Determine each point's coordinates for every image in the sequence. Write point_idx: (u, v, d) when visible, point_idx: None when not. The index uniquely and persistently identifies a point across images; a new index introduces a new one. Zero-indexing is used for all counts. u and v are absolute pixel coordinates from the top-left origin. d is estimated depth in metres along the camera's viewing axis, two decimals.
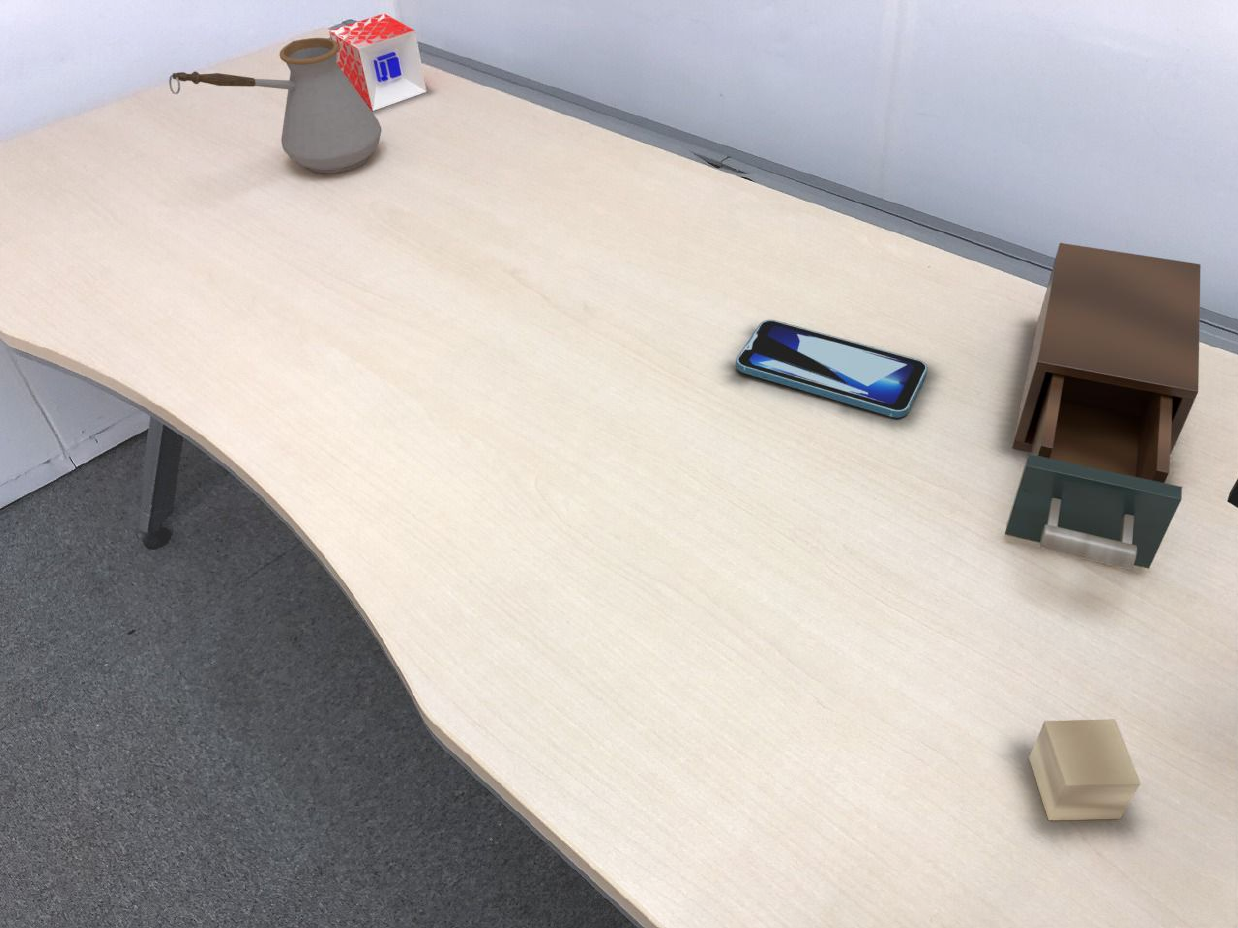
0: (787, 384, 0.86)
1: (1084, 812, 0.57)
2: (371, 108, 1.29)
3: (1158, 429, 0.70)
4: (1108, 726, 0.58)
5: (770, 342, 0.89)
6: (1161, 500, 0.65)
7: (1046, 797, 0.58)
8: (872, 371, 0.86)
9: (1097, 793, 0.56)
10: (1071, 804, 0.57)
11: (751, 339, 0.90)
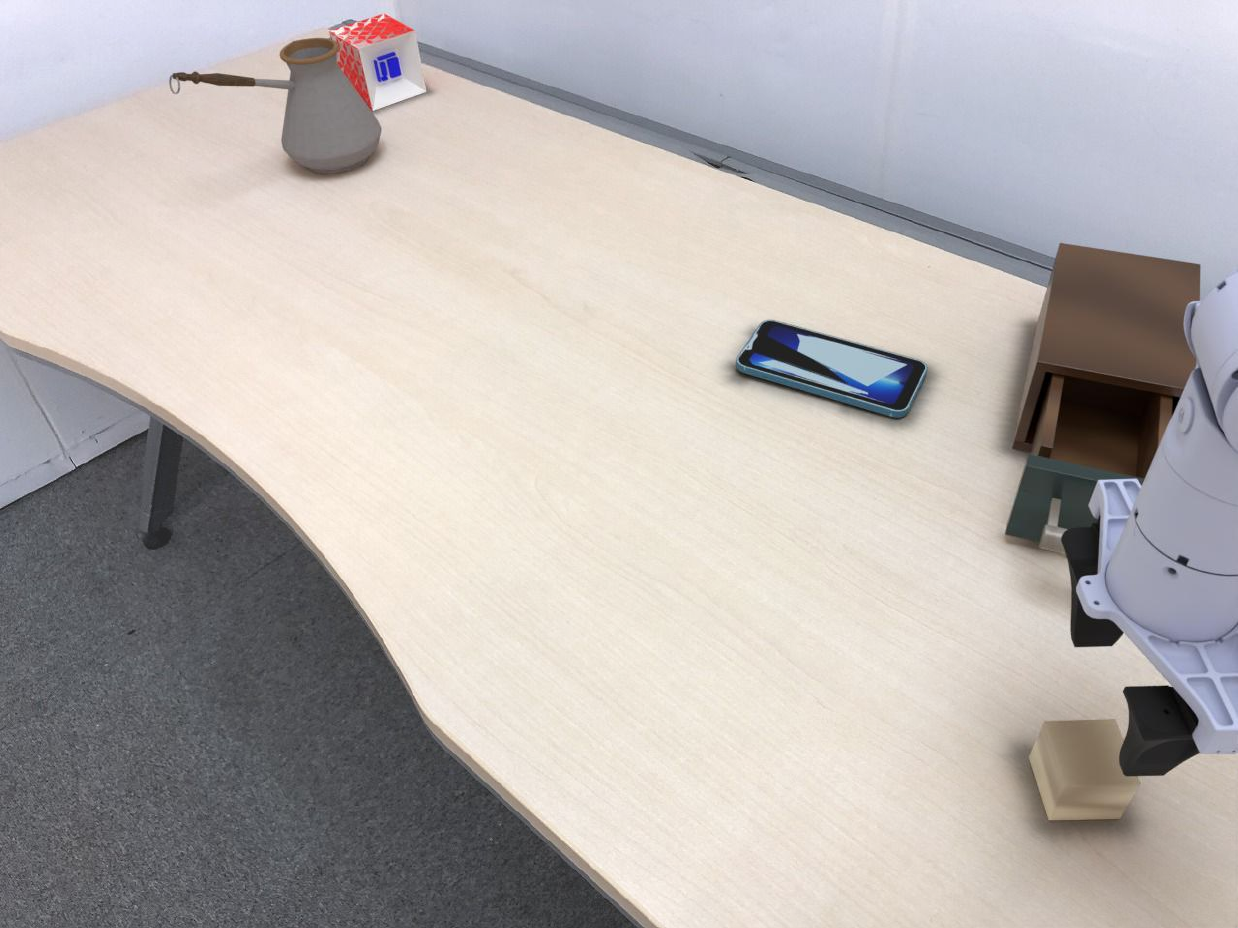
0: (787, 384, 0.86)
1: (1084, 812, 0.57)
2: (371, 108, 1.29)
3: (1158, 429, 0.70)
4: (1108, 726, 0.58)
5: (770, 342, 0.89)
6: None
7: (1046, 797, 0.58)
8: (872, 371, 0.86)
9: (1097, 793, 0.56)
10: (1071, 804, 0.57)
11: (751, 339, 0.90)
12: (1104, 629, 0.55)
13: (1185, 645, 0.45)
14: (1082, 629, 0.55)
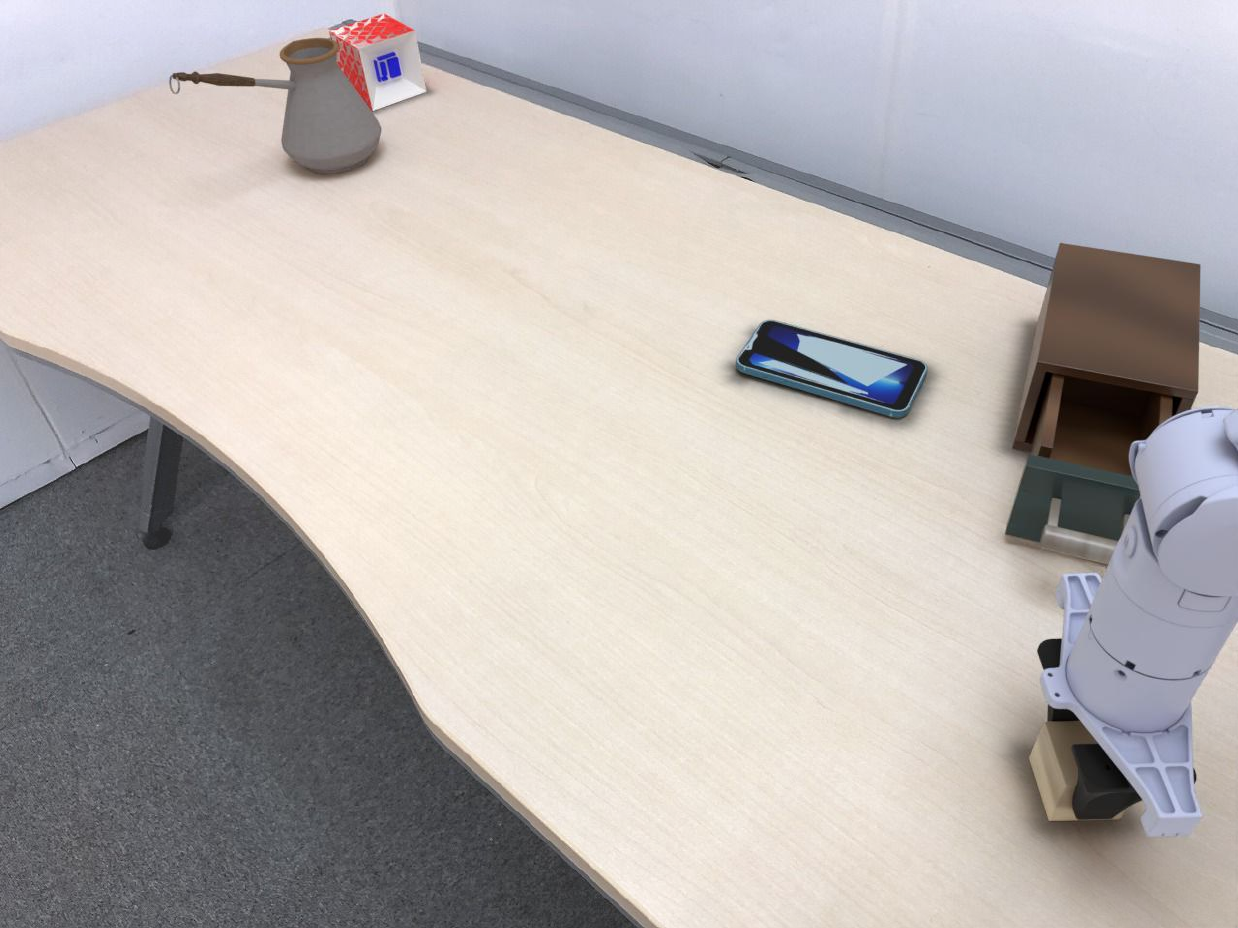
0: (787, 384, 0.86)
1: None
2: (371, 108, 1.29)
3: None
4: None
5: (770, 342, 0.89)
6: None
7: (1047, 797, 0.58)
8: (872, 371, 0.86)
9: None
10: (1071, 805, 0.57)
11: (751, 339, 0.90)
12: None
13: (1135, 736, 0.50)
14: None
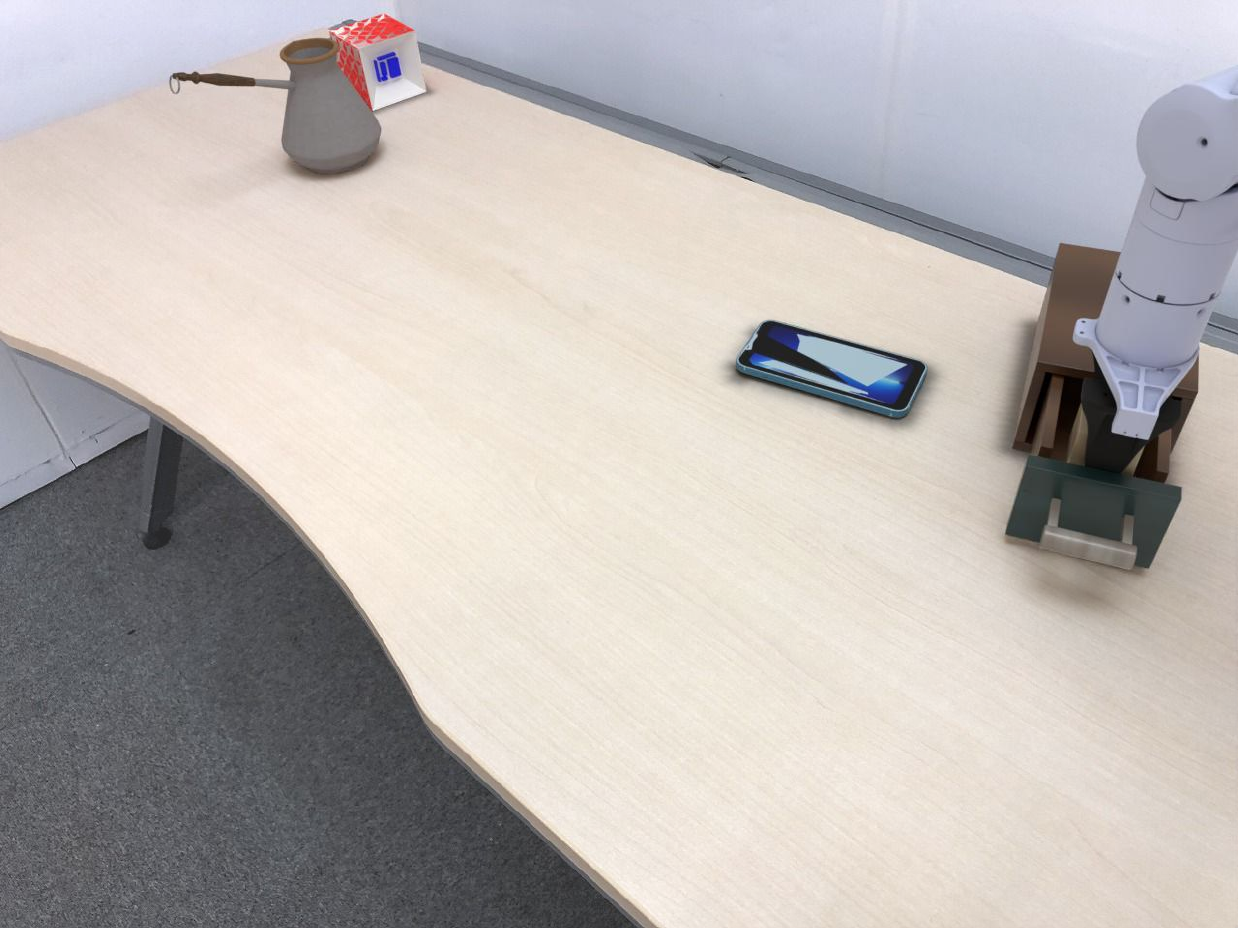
0: (787, 384, 0.86)
1: None
2: (371, 108, 1.29)
3: None
4: None
5: (770, 342, 0.89)
6: (1161, 500, 0.65)
7: (1068, 457, 0.69)
8: (872, 371, 0.86)
9: None
10: (1083, 458, 0.68)
11: (751, 339, 0.90)
12: None
13: (1132, 366, 0.61)
14: None
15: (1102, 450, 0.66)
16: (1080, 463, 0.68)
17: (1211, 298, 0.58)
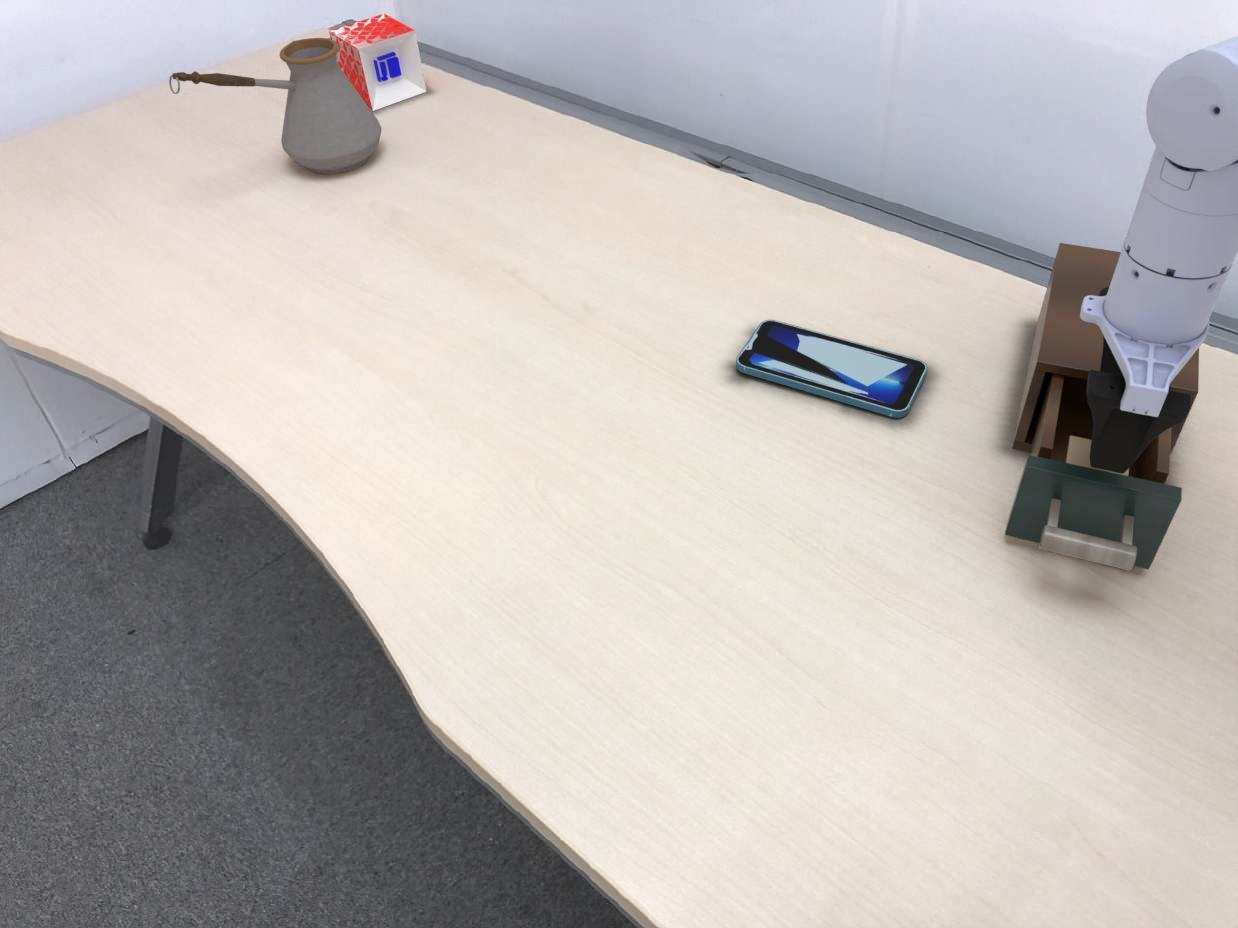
0: (787, 384, 0.86)
1: None
2: (371, 108, 1.29)
3: None
4: None
5: (770, 342, 0.89)
6: (1161, 501, 0.65)
7: None
8: (872, 371, 0.86)
9: None
10: None
11: (751, 339, 0.90)
12: None
13: (1141, 343, 0.60)
14: None
15: (1108, 445, 0.64)
16: None
17: (1222, 272, 0.57)
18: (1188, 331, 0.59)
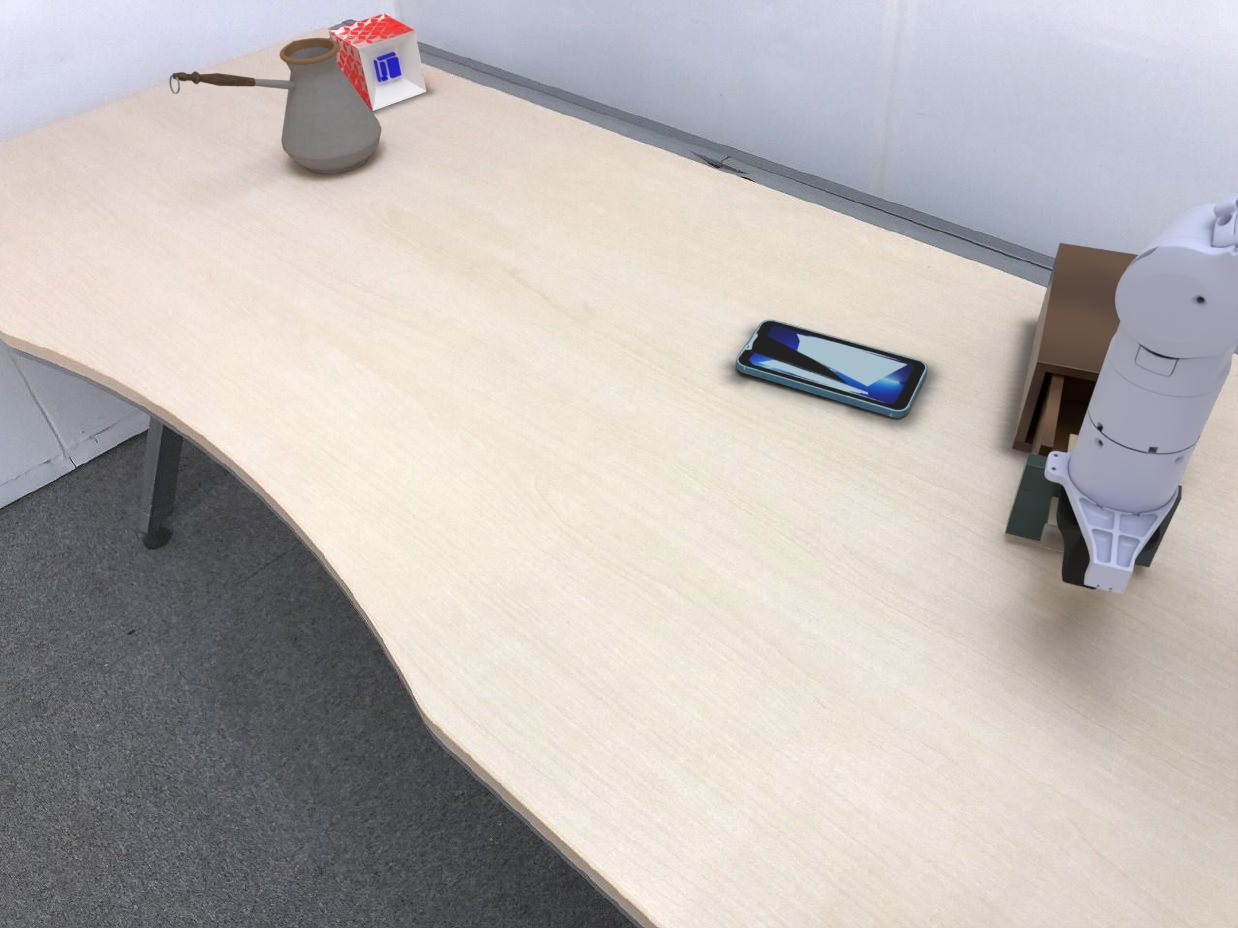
0: (787, 384, 0.86)
1: None
2: (371, 108, 1.29)
3: None
4: None
5: (770, 342, 0.89)
6: None
7: None
8: (872, 371, 0.86)
9: None
10: None
11: (751, 339, 0.90)
12: None
13: (1106, 510, 0.57)
14: None
15: (1079, 564, 0.64)
16: None
17: (1189, 445, 0.54)
18: (1155, 500, 0.56)
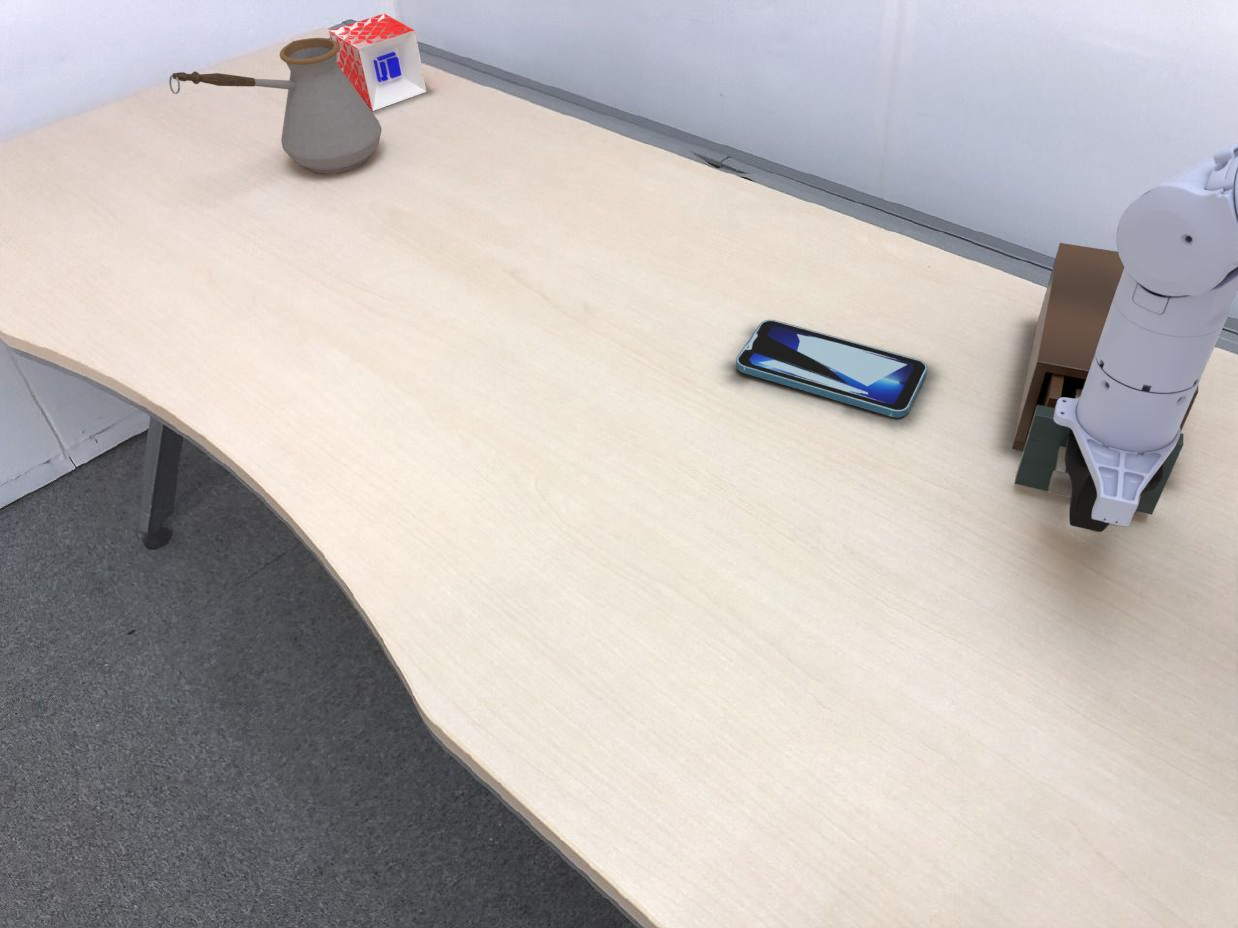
0: (787, 384, 0.86)
1: None
2: (371, 108, 1.29)
3: None
4: None
5: (770, 342, 0.89)
6: None
7: None
8: (872, 371, 0.86)
9: None
10: None
11: (751, 339, 0.90)
12: None
13: (1113, 450, 0.61)
14: None
15: (1086, 506, 0.67)
16: None
17: None
18: (1158, 440, 0.60)
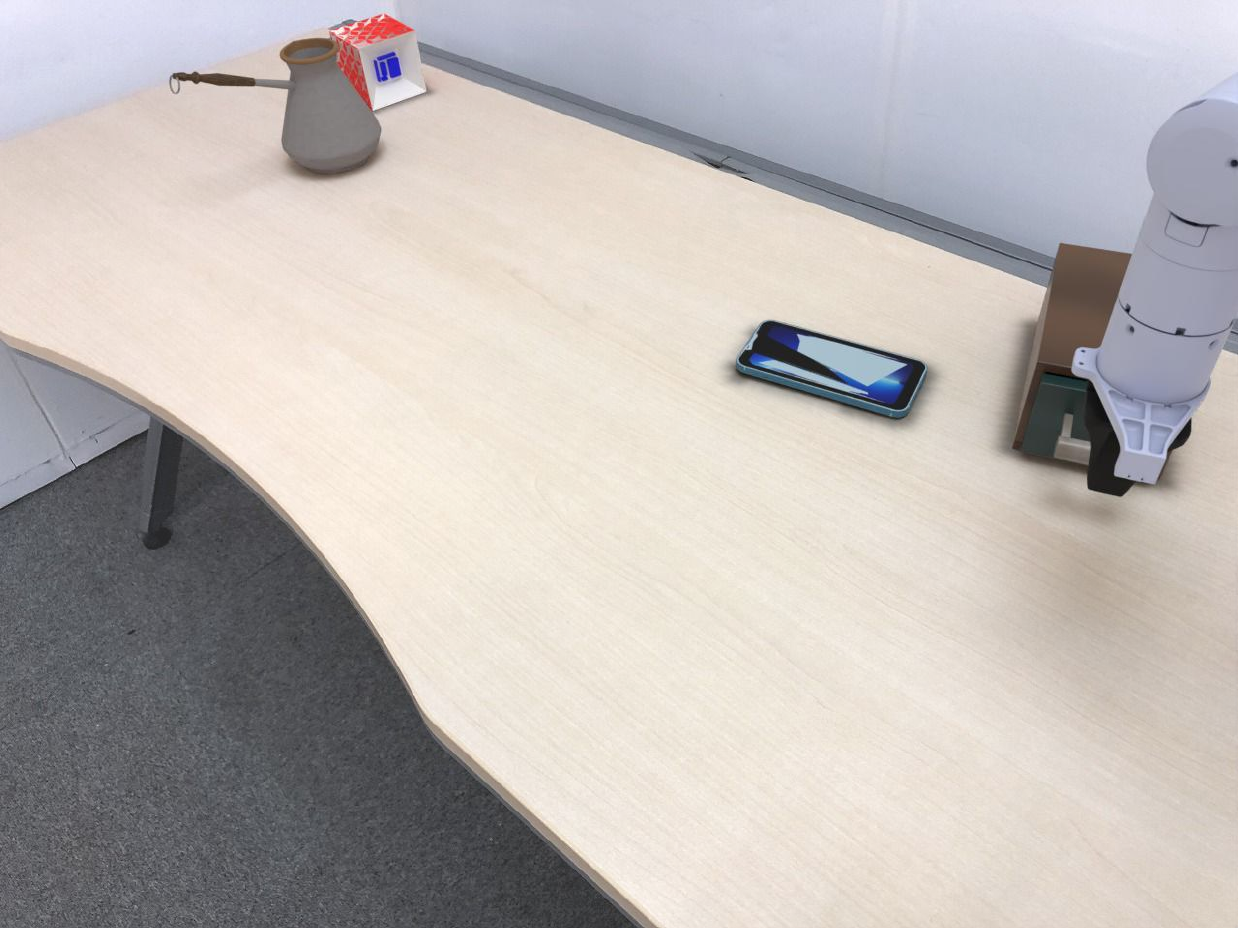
0: (787, 384, 0.86)
1: None
2: (371, 108, 1.29)
3: None
4: None
5: (770, 342, 0.89)
6: None
7: None
8: (872, 371, 0.86)
9: None
10: None
11: (751, 339, 0.90)
12: None
13: (1137, 402, 0.55)
14: None
15: (1106, 468, 0.62)
16: None
17: (1224, 328, 0.52)
18: (1188, 390, 0.55)
